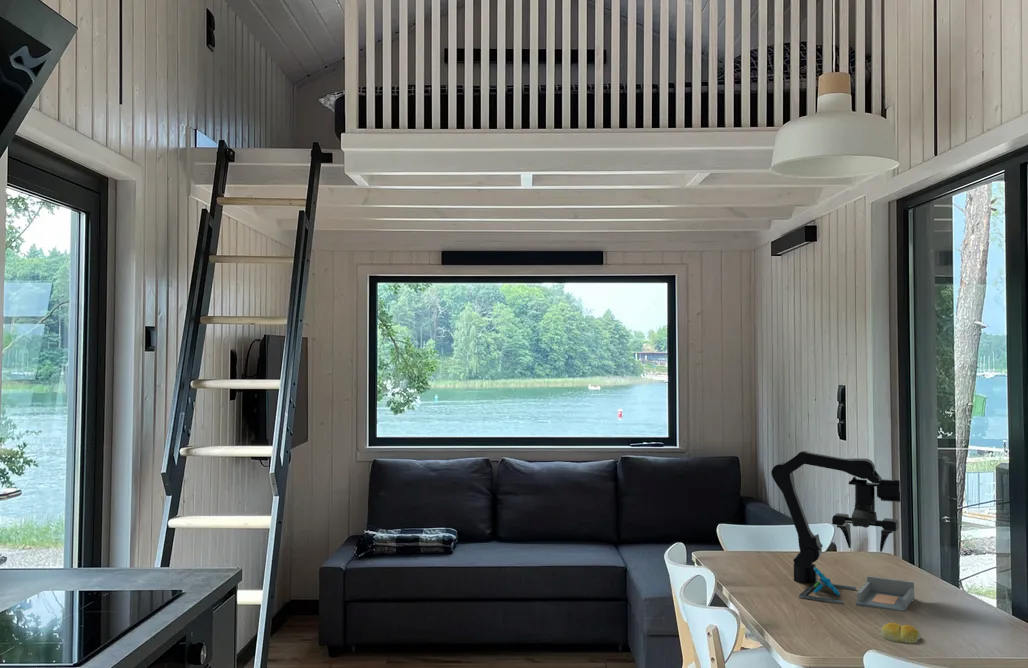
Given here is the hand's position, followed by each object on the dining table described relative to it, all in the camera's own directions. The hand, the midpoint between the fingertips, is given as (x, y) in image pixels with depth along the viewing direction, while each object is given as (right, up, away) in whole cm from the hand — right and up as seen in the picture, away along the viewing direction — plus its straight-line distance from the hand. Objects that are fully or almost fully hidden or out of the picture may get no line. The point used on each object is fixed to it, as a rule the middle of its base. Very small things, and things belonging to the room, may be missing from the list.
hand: (865, 549), depth 262 cm
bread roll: (-15, -11, -50) cm, 54 cm away
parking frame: (-14, -12, -7) cm, 19 cm away
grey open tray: (0, -12, -16) cm, 19 cm away
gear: (-12, -13, -7) cm, 19 cm away
